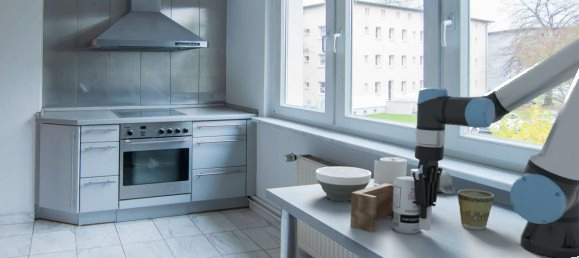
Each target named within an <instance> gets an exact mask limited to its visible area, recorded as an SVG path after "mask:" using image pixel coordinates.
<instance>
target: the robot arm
mask: <svg viewBox="0 0 579 258" xmlns="http://www.w3.org/2000/svg"><path fill="white" fill-rule="evenodd" d="M572 79H573V81H572V84H571V85H570V88H569V90H568V92H567V94H566V96H565V98H564V100H563V103H562V105H561V107H560V109H559V111H558V113H557V115H556V118H555V120H554V122H553V124H552V126H551V129H550V131H549V132H548V135H547V136H546V139H545V141H544V143H543V146H542V148H541V150H540V152H539V153H536V154H533V155H531V156H530V157H529V159H528V160H527V161H528V162H526V163H527V164H526V165H525V168H524V169H523V172H522V174H521V176H519V177H518V178H517V179H515V181H514V182H513V183H512V185H511V187H510V191H509V199H510V200H509V201H510V203H511V205H512V208H513V210H514V211H515V212H516V213H517V214H518V215H519V216H520V217H521V218H523V220H525V221H527V222H526V224H525V226H524V227H523V231H522V232H521V235H520V246H521V247H522V248H523V249H525V250H527V251H529V252H530V253H531V252H532V253H533V254H537V255H540V254H541V256H545V257H549V256H550V257H549V258H554V257H560V258H571V257H577V256H579V38H577V39H576V40H573V41H572V42H570V43H569V44H567V45H565V46H563V47H562V48H560V49H558V50H557V51H555V52H554V53H552V54H551V55H550V54H549V55H548V56H547V57H545V58H544V59H542V60H539V62H536V63H535V64H534V65H532V66H530V67H528V68H527V69H525V70H524V71H522V72H521V73H518V74H517V75H515V76H514V77H512V78H511V79H509V80H507V81H505V82H504V83H502V84H499V86H497V87H496V88H494V89H492V90H490V91H488V92H487V93H485V94H484V95H482V96H451V95H448V90H447V89H446V88H442V87H441V88H440V87H439V88H438V87H422V88H420V89H419V91H418V98H417V103H416V105H417V107H416V108H417V110H416V112H417V113H416V126H415V127H416V128H415V129H416V131H415V143H416V145H415V147H414V158H415V159H416V160H418V164H417V169H418V171H417V172H413V178H414V186H415V200H416V205H418V206H420V217H419V229H421V230H423V231H430V230H431V227H432V226H431V225H432V208H433V207H436V206H437V205H436V204H437V203H436V202H437V199H438V195H439V194H438V193H439V192H438V188H439V182H440V176H441V173H442V170H443V171H444V169H443V168H442V167H439V162H440V161H442V160H443V159H444V154H445V153H444V152H445V148H444V146H443V145H445V137H446V135H445V134H446V125H447V126H450V125H451V126H459V127H466V128H467V127H468V128H473V129H479V128H480V129H481V128H483V129H487V128H489V127H491V126H492V124H495V123H497V122H499V121H501V120H502V119H503V118H504V117H505V116H507V115H508V114H510V113H511V112H513V111H515V110H517V109H518V108H521V107H523V106H524V105H526V104H528V103H529V102H532V101H533V100H535V99H537V98H538V97H540V96H542V95H544V94H546V93H548V92H549V91H551V90H553V89H555V88H558V86H560V85H562V84H563V83H565V82H568V81H569V80H572Z"/></svg>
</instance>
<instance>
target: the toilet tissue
mask: <svg viewBox="0 0 579 258" xmlns="http://www.w3.org/2000/svg"><path fill="white" fill-rule="evenodd" d="M407 164H408V160H407V159H406V158H404V157H403V158H402V157H396V156H395V157H391V156H389V157H388V156H387V157H386V156H385V157H380V159H379V160H378V159H374V168H373V184H377V185H381V184H384V183H387V184H392V185H394V181H395V179H396V177H397V176H407V167H408V166H407Z"/></svg>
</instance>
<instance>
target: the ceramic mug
mask: <svg viewBox="0 0 579 258" xmlns="http://www.w3.org/2000/svg"><path fill="white" fill-rule="evenodd" d="M455 189H456V188H455V187H454V186H453V179H452V176H451V173H449V172H448V171H446V170H444V169H443V170H442V173H441V176H440V182H439V188H438V193H440V192H441V193H443V194H446V195H449V196H452V195H454V193H455V191H456V190H455Z"/></svg>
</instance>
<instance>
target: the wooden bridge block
mask: <svg viewBox="0 0 579 258" xmlns="http://www.w3.org/2000/svg"><path fill="white" fill-rule="evenodd" d="M393 189H394V185H392V184H387V183H384V184H377V185H374V186H370V187H366V188H365V189H362V190H359V191H355V192H352V196H351V201H350V223H349V224H350V225H349V226H350V227H352V228H356V229H359V230H362V231H367V232H369V233H374V232H375V231H376V224H377V223H376V222H379V221H381V220H383V219H386V218H391V219H392V210H393Z"/></svg>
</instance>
